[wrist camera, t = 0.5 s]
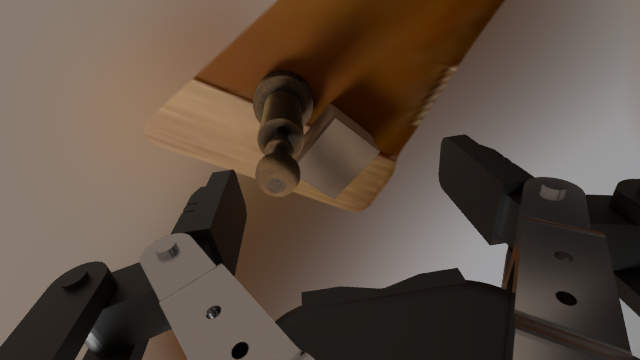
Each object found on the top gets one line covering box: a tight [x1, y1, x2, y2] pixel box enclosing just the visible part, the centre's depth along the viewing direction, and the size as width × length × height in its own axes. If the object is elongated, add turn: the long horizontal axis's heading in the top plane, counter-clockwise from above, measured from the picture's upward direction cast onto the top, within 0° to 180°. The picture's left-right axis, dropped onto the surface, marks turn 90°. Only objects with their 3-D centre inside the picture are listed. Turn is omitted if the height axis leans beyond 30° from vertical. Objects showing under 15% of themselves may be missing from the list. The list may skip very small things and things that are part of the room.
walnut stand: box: [294, 103, 380, 199], centre depth 35 cm, size 8×6×5 cm
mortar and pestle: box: [253, 71, 313, 197], centre depth 27 cm, size 7×6×18 cm
